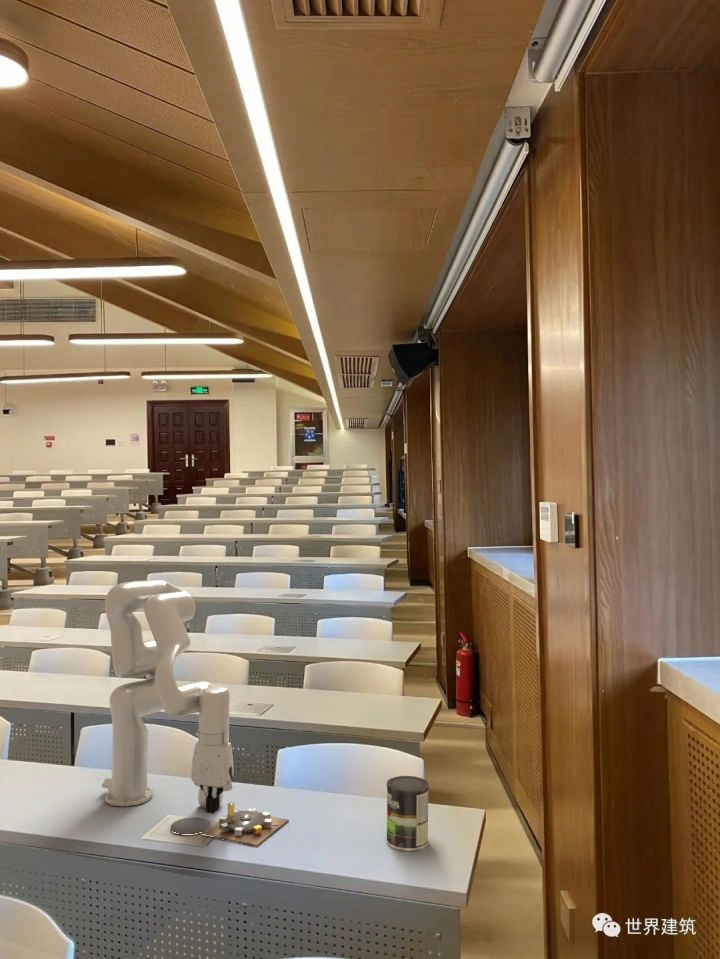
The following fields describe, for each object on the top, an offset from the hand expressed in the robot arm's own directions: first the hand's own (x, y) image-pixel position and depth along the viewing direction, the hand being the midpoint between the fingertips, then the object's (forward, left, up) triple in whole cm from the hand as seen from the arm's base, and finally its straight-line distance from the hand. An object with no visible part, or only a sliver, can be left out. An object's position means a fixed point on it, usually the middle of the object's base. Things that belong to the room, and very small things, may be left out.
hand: (212, 811), depth 185 cm
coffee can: (+47, +13, -5) cm, 49 cm away
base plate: (+7, +4, -4) cm, 9 cm away
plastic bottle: (-9, +12, -5) cm, 15 cm away
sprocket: (+7, +4, -4) cm, 9 cm away
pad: (-6, -1, -4) cm, 7 cm away
